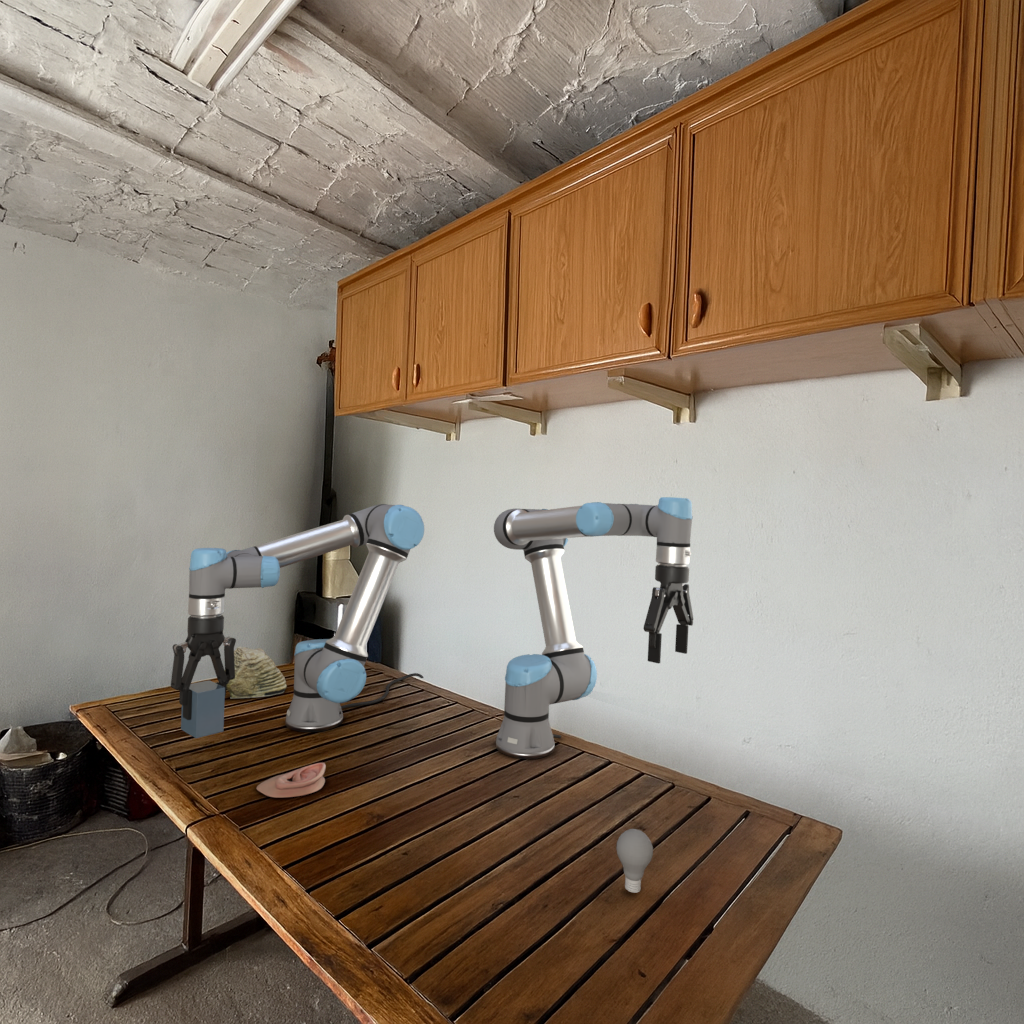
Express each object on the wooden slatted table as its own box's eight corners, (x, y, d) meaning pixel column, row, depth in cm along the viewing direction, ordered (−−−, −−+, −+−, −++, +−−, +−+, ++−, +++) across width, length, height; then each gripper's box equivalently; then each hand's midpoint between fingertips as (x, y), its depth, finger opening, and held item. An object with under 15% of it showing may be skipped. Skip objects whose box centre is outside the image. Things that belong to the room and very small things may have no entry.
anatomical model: (248, 775, 133) (279, 754, 144) (247, 794, 133) (278, 771, 144) (306, 783, 130) (332, 761, 142) (305, 802, 130) (332, 779, 142)
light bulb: (610, 879, 108) (613, 822, 108) (644, 879, 109) (647, 822, 109) (619, 902, 102) (622, 840, 102) (655, 901, 103) (658, 840, 103)
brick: (195, 738, 142) (197, 693, 141) (180, 729, 146) (182, 685, 146) (223, 731, 146) (225, 687, 146) (208, 722, 151) (209, 680, 151)
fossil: (218, 695, 195) (220, 647, 195) (278, 685, 208) (279, 640, 207) (228, 703, 189) (230, 653, 188) (289, 692, 201) (290, 645, 201)
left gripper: (169, 622, 136) (165, 729, 137) (254, 613, 151) (250, 709, 151) (154, 617, 141) (151, 720, 141) (238, 608, 156) (235, 701, 156)
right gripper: (662, 569, 133) (657, 670, 133) (710, 563, 152) (706, 651, 152) (630, 565, 138) (625, 662, 138) (681, 560, 157) (677, 646, 157)
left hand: (202, 714), depth 146 cm, fingers closed on brick, 6 cm apart
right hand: (667, 657), depth 145 cm, fingers open, 13 cm apart
